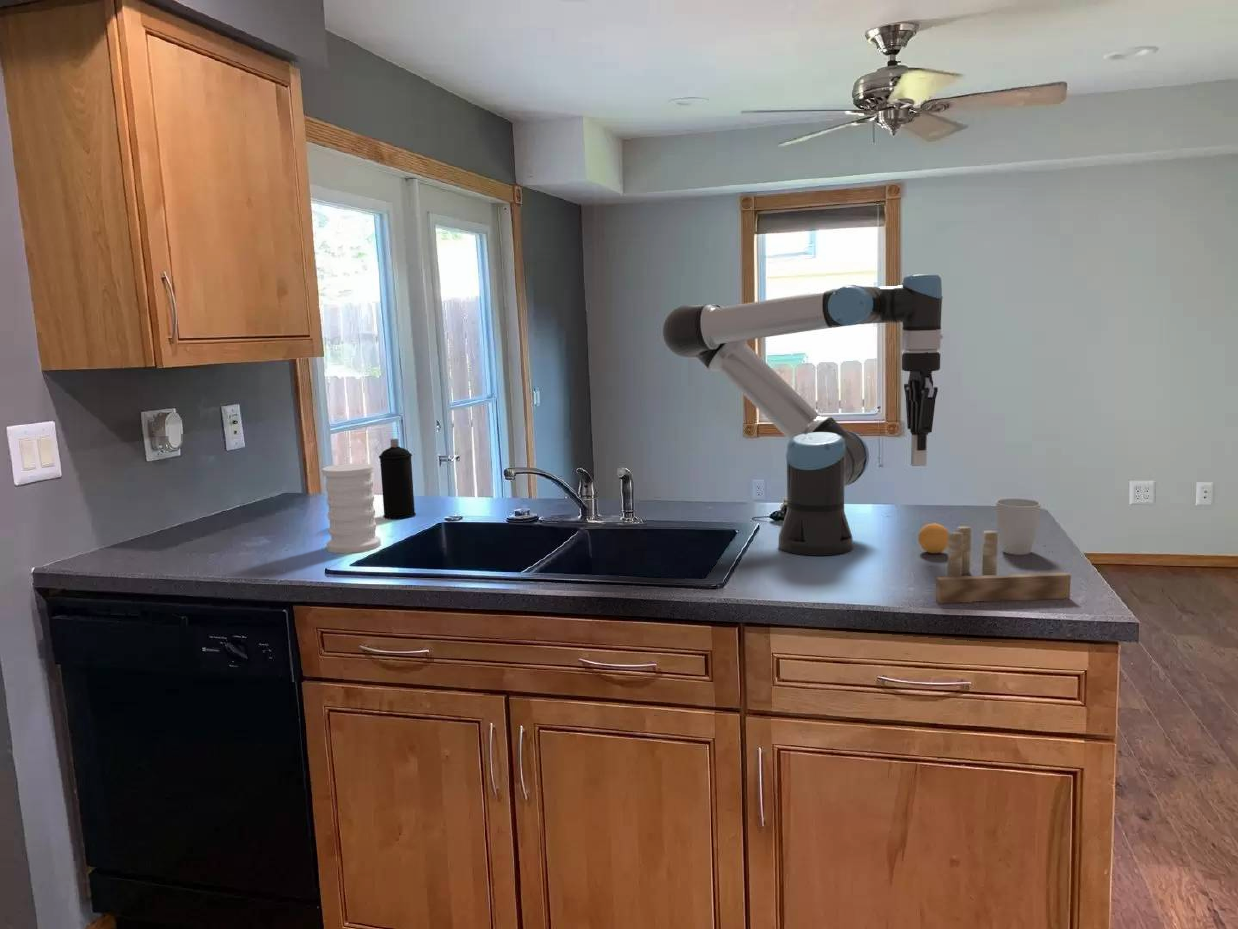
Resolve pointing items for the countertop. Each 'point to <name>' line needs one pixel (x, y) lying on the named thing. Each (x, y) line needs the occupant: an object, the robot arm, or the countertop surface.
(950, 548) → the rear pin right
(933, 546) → the ball
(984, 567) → the rear pin left
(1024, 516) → the cup
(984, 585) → the back wall
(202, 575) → the countertop surface
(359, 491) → the decorative container
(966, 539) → the front pin
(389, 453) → the aerosol can
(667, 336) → the robot arm
